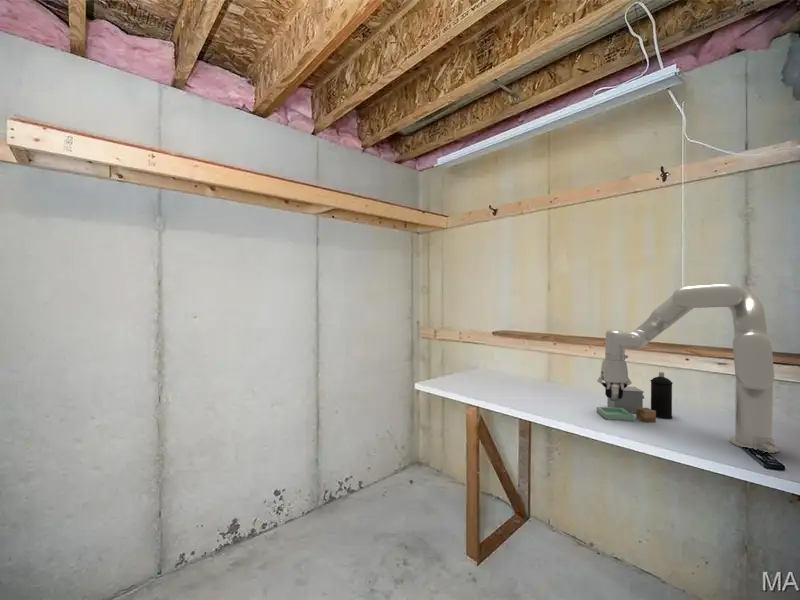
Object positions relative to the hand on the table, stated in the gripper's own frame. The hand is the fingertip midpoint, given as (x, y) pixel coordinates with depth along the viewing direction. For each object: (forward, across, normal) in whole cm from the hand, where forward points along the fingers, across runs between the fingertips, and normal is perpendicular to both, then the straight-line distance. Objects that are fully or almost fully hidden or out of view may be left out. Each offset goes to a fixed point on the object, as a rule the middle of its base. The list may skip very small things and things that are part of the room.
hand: (614, 397), depth 158 cm
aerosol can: (+9, -22, -5) cm, 24 cm away
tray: (+9, 0, 0) cm, 9 cm away
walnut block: (+9, -12, +3) cm, 15 cm away
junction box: (+9, -9, -10) cm, 16 cm away
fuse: (+1, 0, 0) cm, 1 cm away
